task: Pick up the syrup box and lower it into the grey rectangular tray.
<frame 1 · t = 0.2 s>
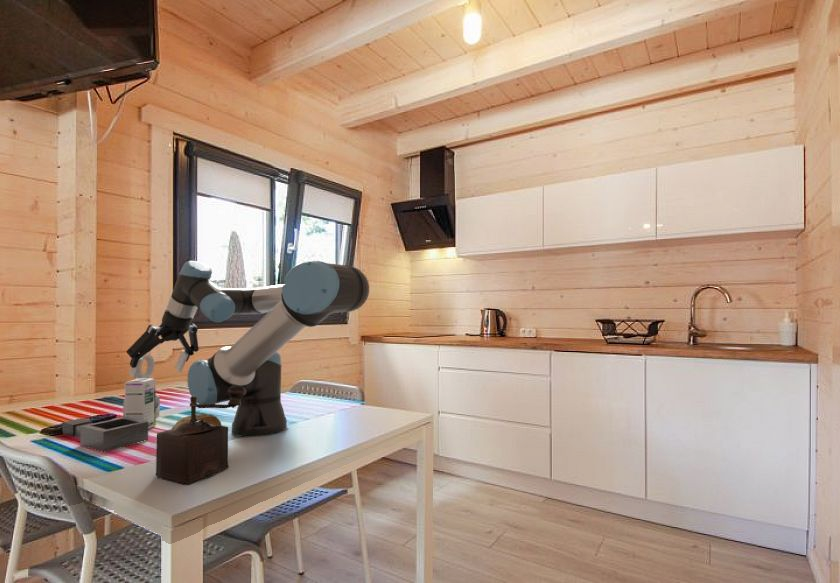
hand: (156, 372, 133), 16 cm above the table, tool tilted 30°, fingers open, 13 cm apart
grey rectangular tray: (114, 442, 118), on the table
coffee grinder: (204, 470, 99), on the table
bread roll: (196, 446, 116), on the table
engine component: (142, 418, 145), on the table
syrup box: (140, 429, 132), on the table
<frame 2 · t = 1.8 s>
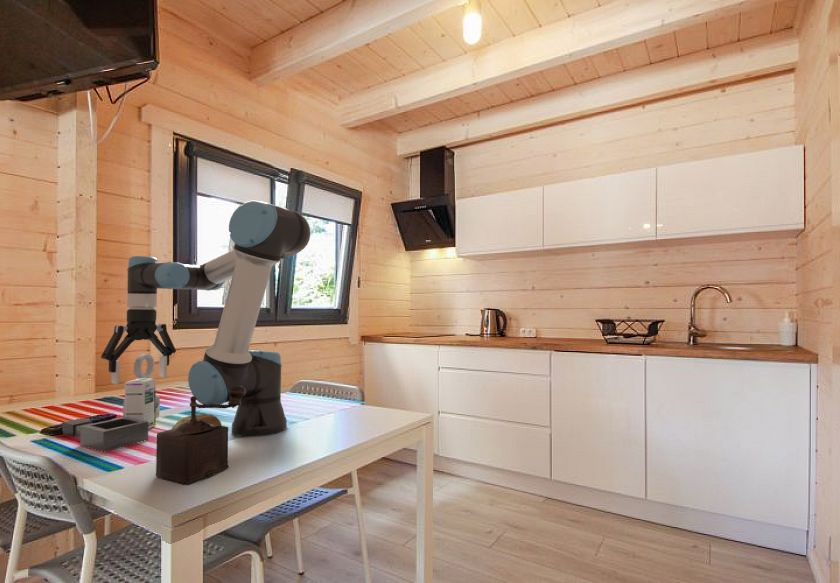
hand: (140, 380, 132), 14 cm above the table, tool pointing down, fingers open, 13 cm apart
nothing on the table moved.
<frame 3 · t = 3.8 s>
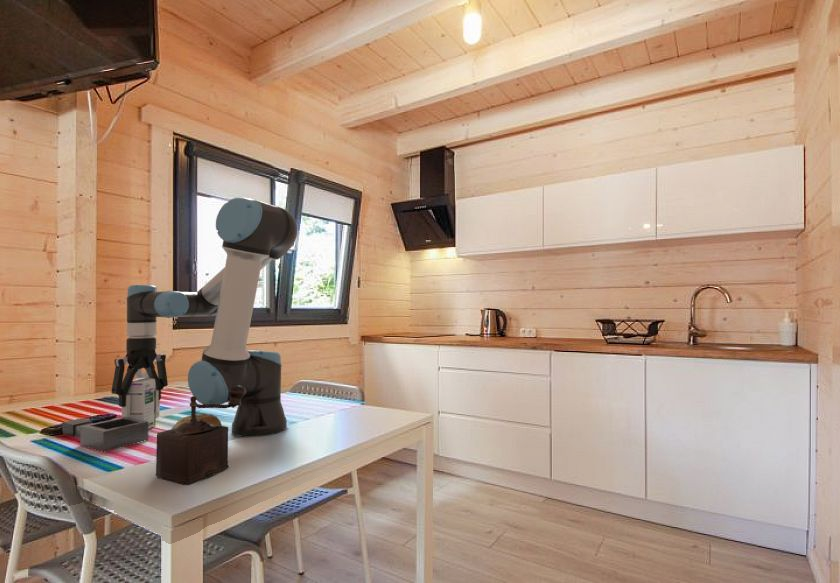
hand: (140, 414, 132), 4 cm above the table, tool pointing down, fingers closed on syrup box, 8 cm apart
syrup box: (140, 429, 132), on the table, touching gripper
everything else where it was.
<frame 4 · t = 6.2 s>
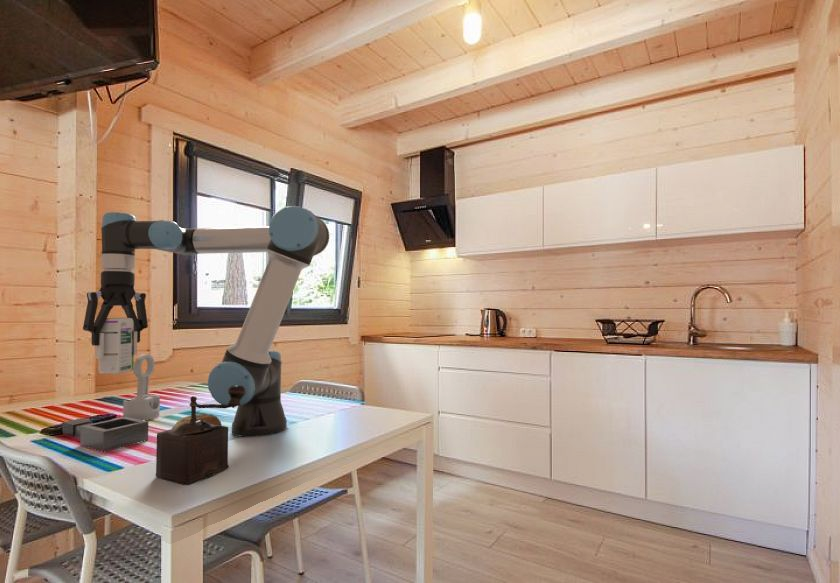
hand: (116, 356, 119), 23 cm above the table, tool pointing down, fingers closed on syrup box, 8 cm apart
syrup box: (115, 372, 119), point 18 cm above the table, touching gripper
everything else where it was.
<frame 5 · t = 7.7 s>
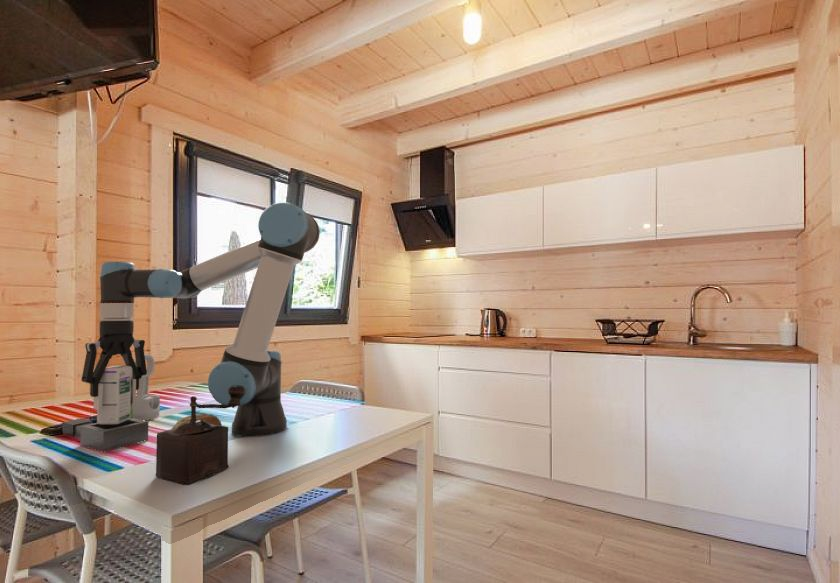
hand: (115, 405, 118), 10 cm above the table, tool pointing down, fingers closed on syrup box, 8 cm apart
syrup box: (114, 422, 118), point 5 cm above the table, touching gripper
everything else where it was.
when the fingers open (7 cm above the table, at t = 8.7 s): syrup box stays where it is, resting on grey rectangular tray.
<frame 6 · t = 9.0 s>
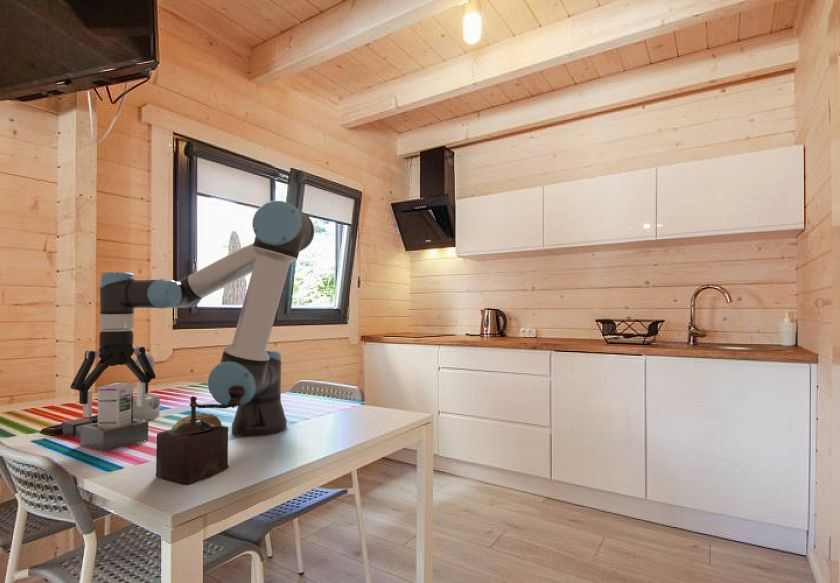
hand: (115, 411, 118), 8 cm above the table, tool pointing down, fingers open, 12 cm apart
syrup box: (115, 440, 118), point 1 cm above the table, touching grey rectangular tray
everything else where it was.
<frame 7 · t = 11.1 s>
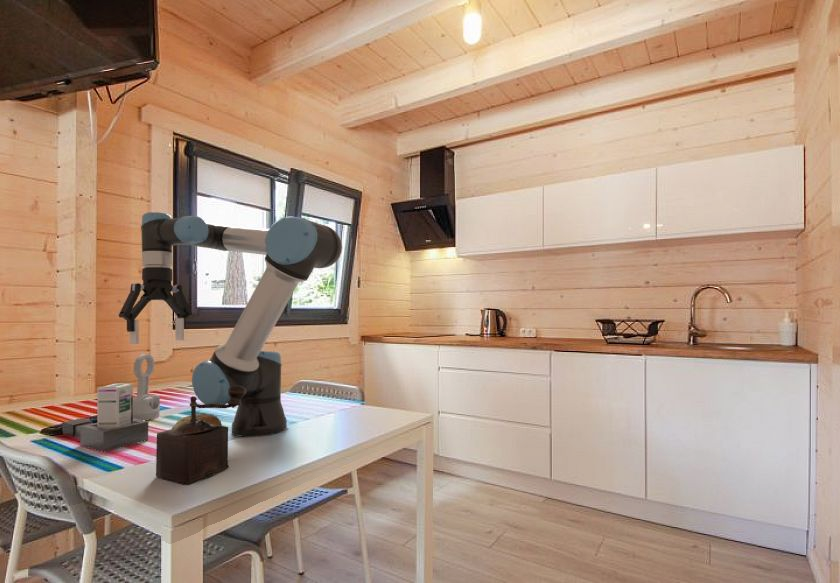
hand: (158, 342, 127), 26 cm above the table, tool pointing down, fingers open, 13 cm apart
nothing on the table moved.
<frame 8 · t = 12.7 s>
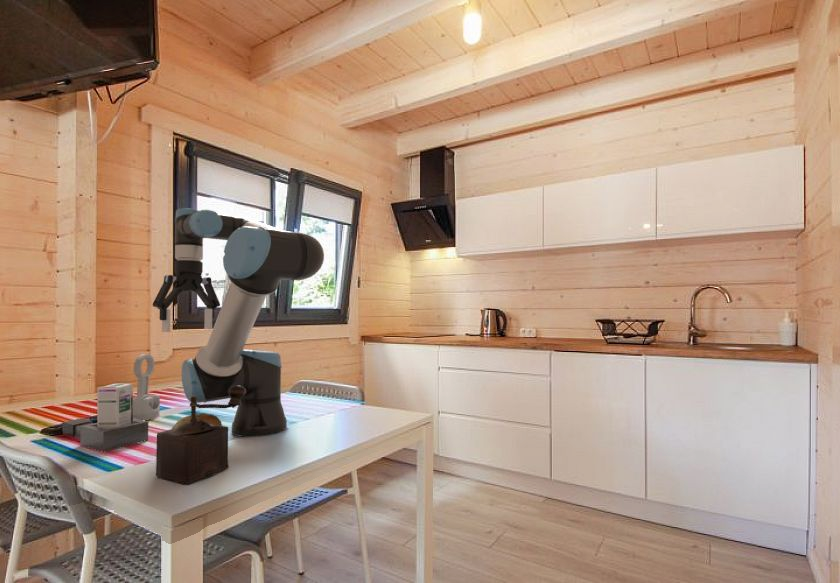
hand: (188, 330, 135), 29 cm above the table, tool pointing down, fingers open, 13 cm apart
nothing on the table moved.
at the end: syrup box 0.1 cm off-centre on the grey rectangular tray, point 0.6 cm above the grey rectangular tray's base; syrup box tilted 0°; the gripper is holding nothing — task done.
